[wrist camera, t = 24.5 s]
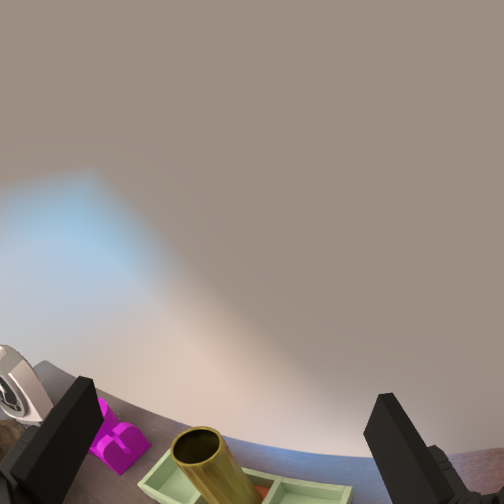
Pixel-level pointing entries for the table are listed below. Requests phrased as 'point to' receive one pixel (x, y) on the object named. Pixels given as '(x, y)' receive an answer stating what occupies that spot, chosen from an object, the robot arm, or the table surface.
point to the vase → (212, 467)
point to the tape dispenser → (117, 442)
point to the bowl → (9, 435)
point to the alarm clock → (21, 389)
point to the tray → (270, 486)
